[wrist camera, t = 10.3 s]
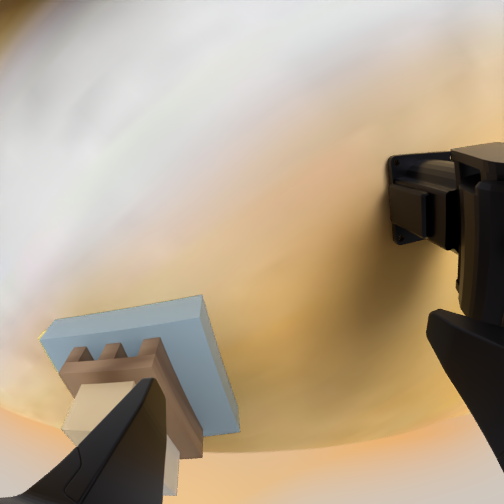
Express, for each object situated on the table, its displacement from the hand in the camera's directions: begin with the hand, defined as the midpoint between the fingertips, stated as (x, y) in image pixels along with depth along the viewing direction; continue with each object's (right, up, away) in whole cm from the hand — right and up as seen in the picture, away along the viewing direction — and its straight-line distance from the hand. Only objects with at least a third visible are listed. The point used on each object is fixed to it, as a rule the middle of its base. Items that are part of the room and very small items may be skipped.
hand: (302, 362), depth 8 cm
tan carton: (-10, -7, +8) cm, 14 cm away
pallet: (-10, -7, +11) cm, 17 cm away
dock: (-10, -7, +14) cm, 19 cm away
